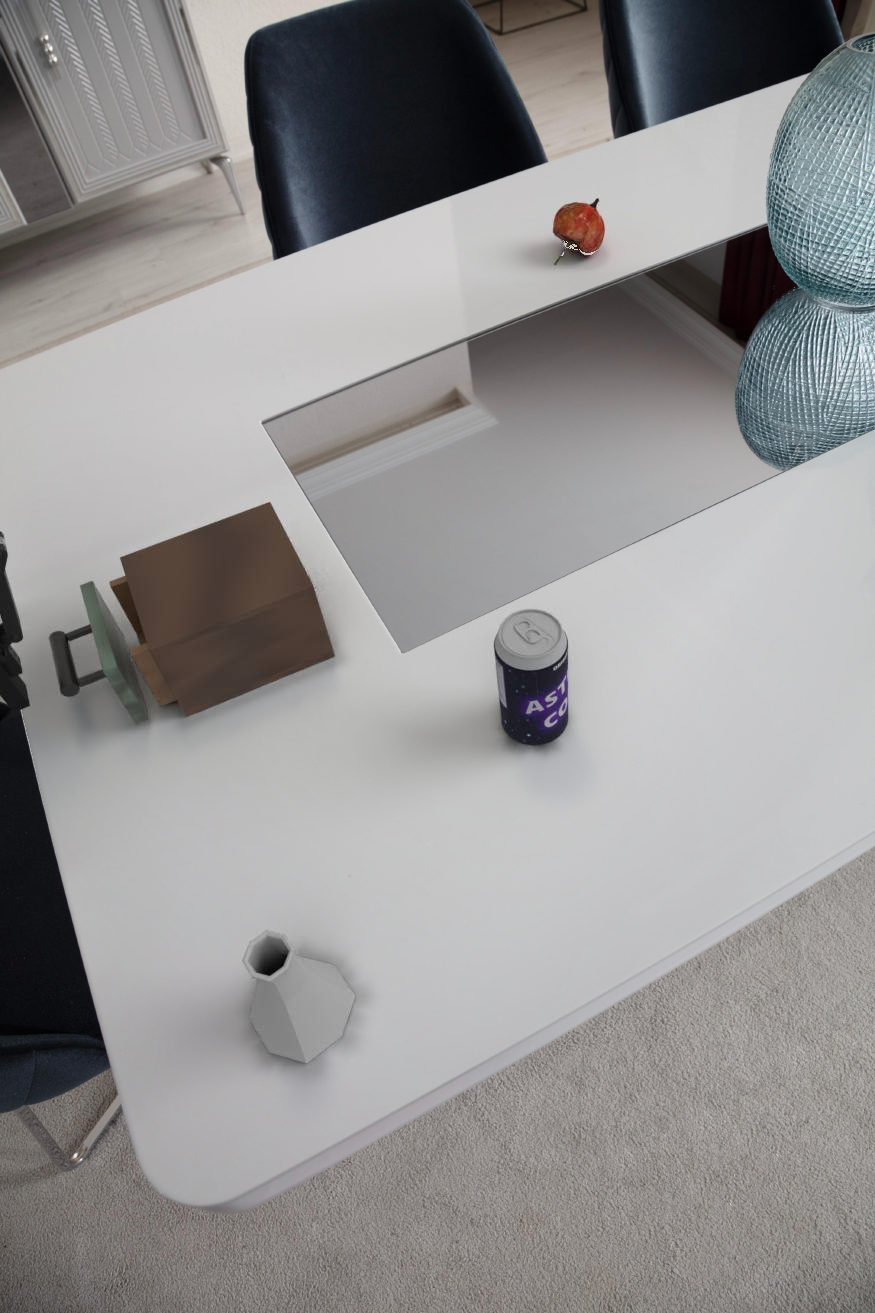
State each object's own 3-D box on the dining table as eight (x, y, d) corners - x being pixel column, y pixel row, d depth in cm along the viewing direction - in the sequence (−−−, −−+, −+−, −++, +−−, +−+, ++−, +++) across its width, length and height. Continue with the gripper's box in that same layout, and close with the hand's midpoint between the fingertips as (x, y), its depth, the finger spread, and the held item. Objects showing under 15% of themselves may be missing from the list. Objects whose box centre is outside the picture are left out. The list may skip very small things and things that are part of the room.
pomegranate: (581, 287, 127) (631, 225, 124) (549, 254, 122) (600, 188, 119) (555, 270, 132) (602, 210, 129) (524, 238, 127) (572, 175, 125)
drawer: (88, 744, 82) (50, 691, 76) (67, 657, 89) (31, 603, 83) (277, 667, 85) (255, 610, 79) (243, 589, 92) (221, 532, 86)
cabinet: (186, 717, 84) (149, 649, 77) (155, 626, 92) (119, 557, 84) (335, 656, 87) (313, 585, 79) (293, 572, 94) (270, 501, 87)
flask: (232, 1024, 66) (187, 972, 58) (297, 941, 69) (263, 881, 61) (309, 1084, 63) (272, 1037, 55) (373, 993, 66) (347, 937, 58)
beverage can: (527, 763, 77) (521, 673, 68) (489, 718, 80) (478, 627, 71) (582, 729, 78) (583, 637, 69) (542, 686, 82) (538, 593, 72)
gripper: (-47, 437, 68) (83, 642, 86) (-230, 499, 66) (-57, 697, 84) (-37, 495, 63) (98, 699, 82) (-234, 564, 61) (-50, 759, 79)
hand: (19, 698), depth 83 cm, fingers closed
